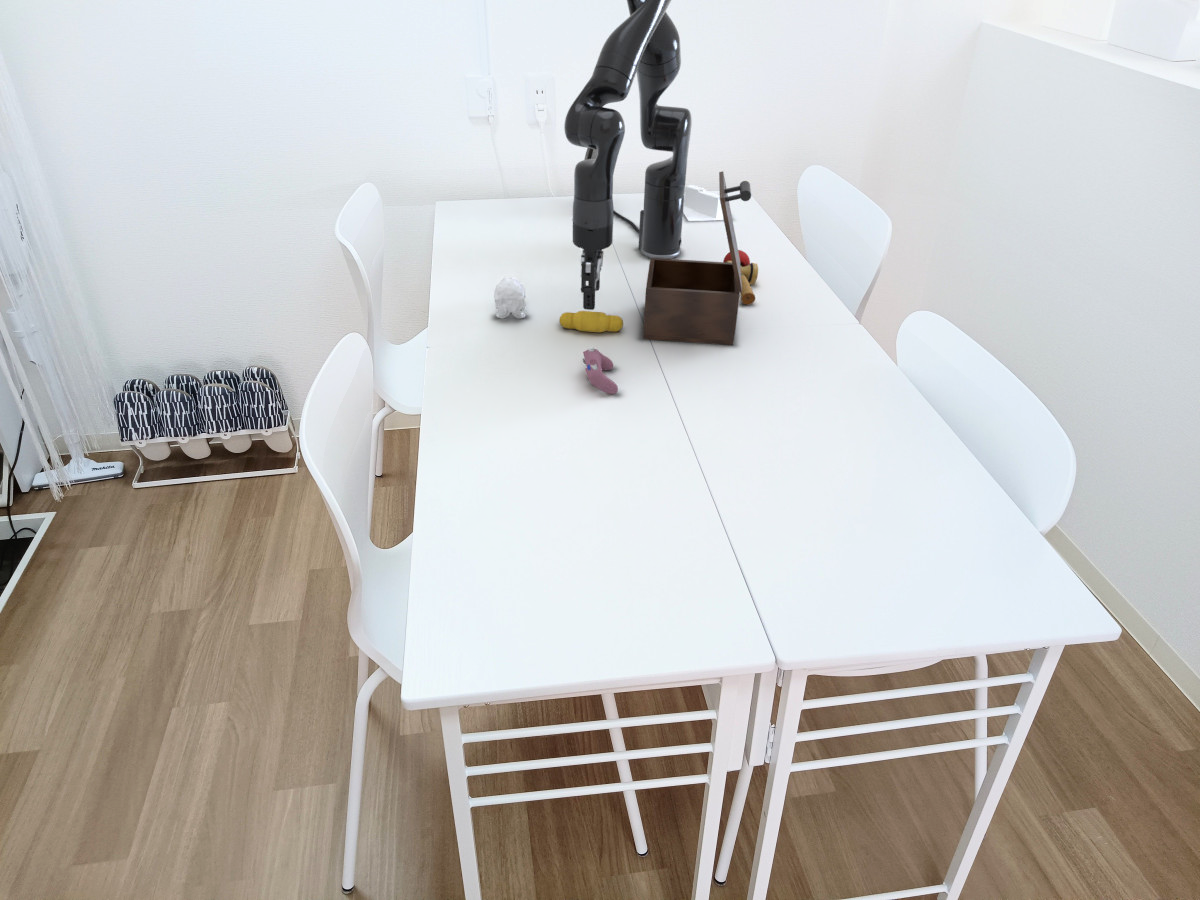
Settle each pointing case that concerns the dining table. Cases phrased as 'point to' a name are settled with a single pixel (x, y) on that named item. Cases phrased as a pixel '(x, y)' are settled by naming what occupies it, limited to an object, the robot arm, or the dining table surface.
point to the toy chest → (691, 301)
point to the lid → (724, 200)
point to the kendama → (746, 276)
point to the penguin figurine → (510, 298)
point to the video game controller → (599, 370)
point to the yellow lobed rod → (591, 321)
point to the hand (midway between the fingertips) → (591, 299)
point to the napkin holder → (701, 204)
